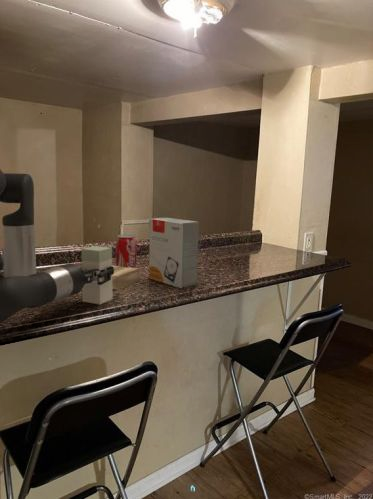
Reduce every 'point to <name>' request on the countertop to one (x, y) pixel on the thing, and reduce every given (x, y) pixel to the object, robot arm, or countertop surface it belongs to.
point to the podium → (124, 277)
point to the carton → (99, 260)
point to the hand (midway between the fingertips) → (102, 269)
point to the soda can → (126, 251)
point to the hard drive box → (173, 251)
